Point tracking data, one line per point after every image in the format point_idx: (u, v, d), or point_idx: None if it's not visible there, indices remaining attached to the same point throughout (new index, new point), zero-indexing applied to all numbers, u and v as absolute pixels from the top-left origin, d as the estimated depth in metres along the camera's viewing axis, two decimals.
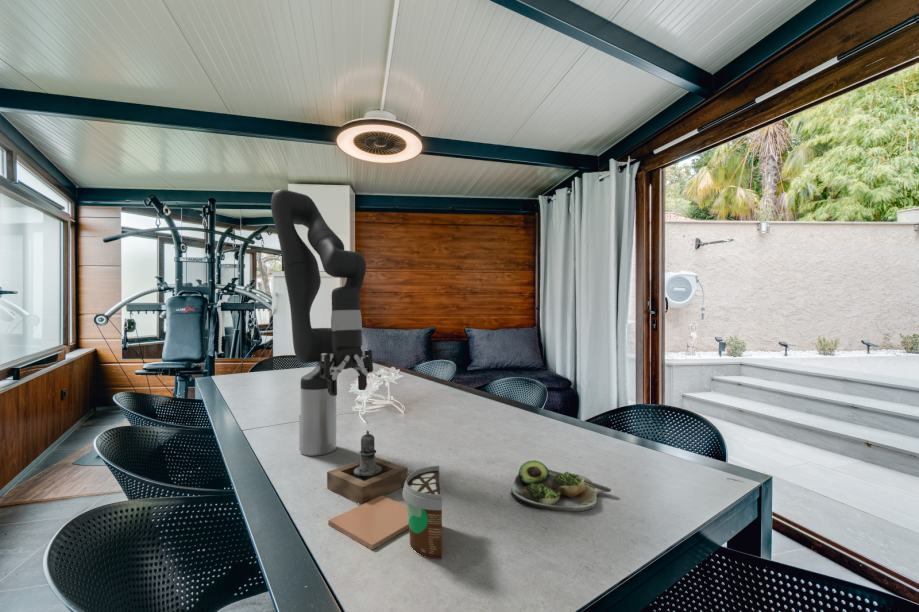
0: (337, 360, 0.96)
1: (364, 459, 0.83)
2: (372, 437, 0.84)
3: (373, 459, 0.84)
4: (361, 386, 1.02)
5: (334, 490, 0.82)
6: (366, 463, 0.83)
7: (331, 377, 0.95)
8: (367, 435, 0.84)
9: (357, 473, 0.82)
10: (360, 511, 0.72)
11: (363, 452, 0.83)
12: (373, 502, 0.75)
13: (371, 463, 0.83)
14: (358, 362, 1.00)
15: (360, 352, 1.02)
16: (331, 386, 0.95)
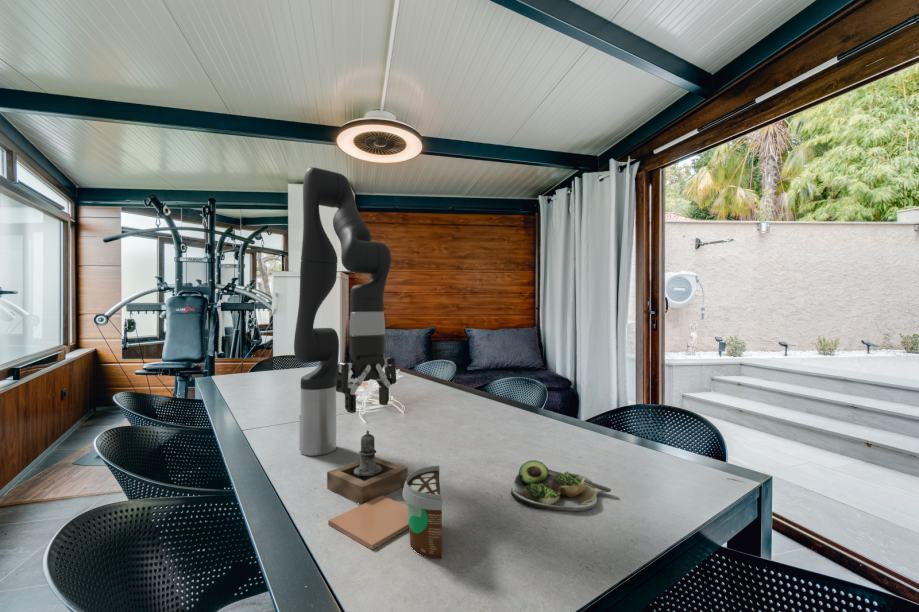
0: (356, 371, 0.82)
1: (364, 459, 0.83)
2: (372, 437, 0.84)
3: (373, 459, 0.84)
4: (383, 400, 0.87)
5: (334, 490, 0.82)
6: (366, 463, 0.83)
7: (349, 391, 0.80)
8: (367, 435, 0.84)
9: (357, 473, 0.82)
10: (360, 511, 0.72)
11: (363, 452, 0.83)
12: (373, 502, 0.75)
13: (371, 463, 0.83)
14: (380, 373, 0.85)
15: (382, 361, 0.87)
16: (349, 402, 0.80)
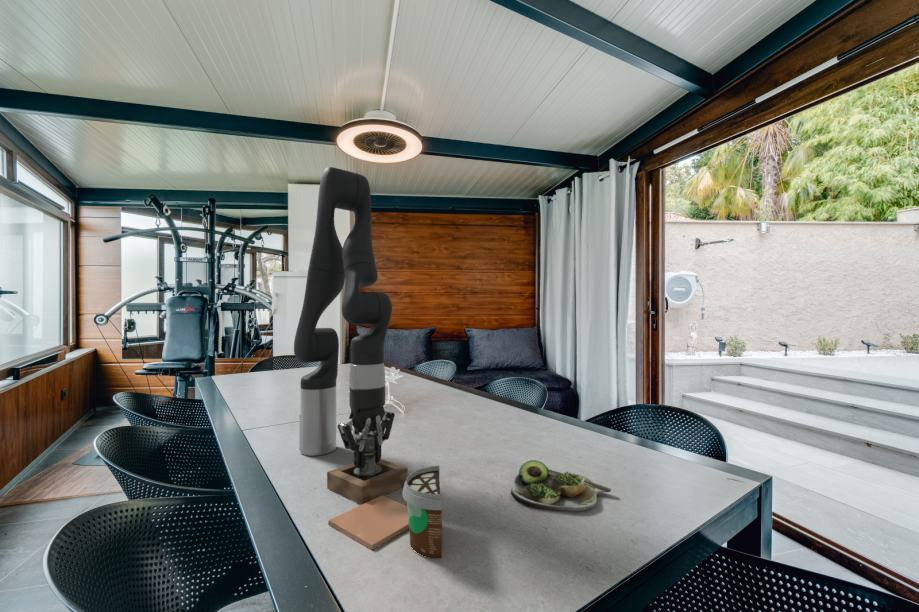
0: (358, 428, 0.82)
1: (364, 459, 0.83)
2: (372, 437, 0.84)
3: (373, 459, 0.84)
4: (375, 457, 0.86)
5: (334, 490, 0.82)
6: (366, 463, 0.83)
7: (358, 449, 0.81)
8: None
9: (357, 473, 0.82)
10: (360, 511, 0.72)
11: None
12: (373, 502, 0.75)
13: (371, 463, 0.83)
14: (378, 426, 0.85)
15: (383, 412, 0.86)
16: (358, 458, 0.82)
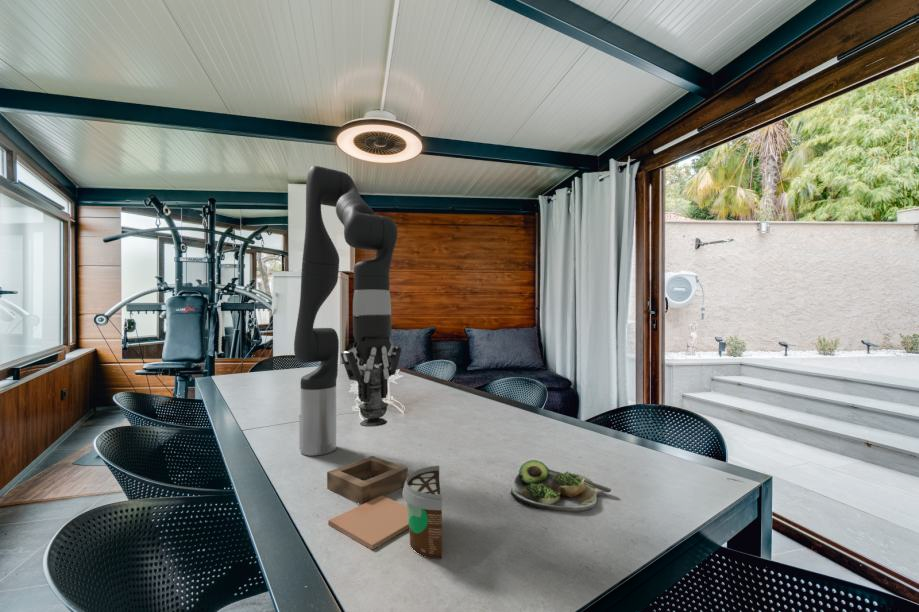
0: (363, 357, 0.76)
1: (370, 392, 0.77)
2: (378, 369, 0.78)
3: (379, 393, 0.78)
4: (381, 393, 0.80)
5: (334, 490, 0.82)
6: (372, 396, 0.77)
7: (363, 380, 0.75)
8: None
9: (362, 407, 0.76)
10: (360, 511, 0.72)
11: None
12: (373, 502, 0.75)
13: (377, 396, 0.77)
14: (383, 358, 0.79)
15: (389, 344, 0.81)
16: (363, 390, 0.76)
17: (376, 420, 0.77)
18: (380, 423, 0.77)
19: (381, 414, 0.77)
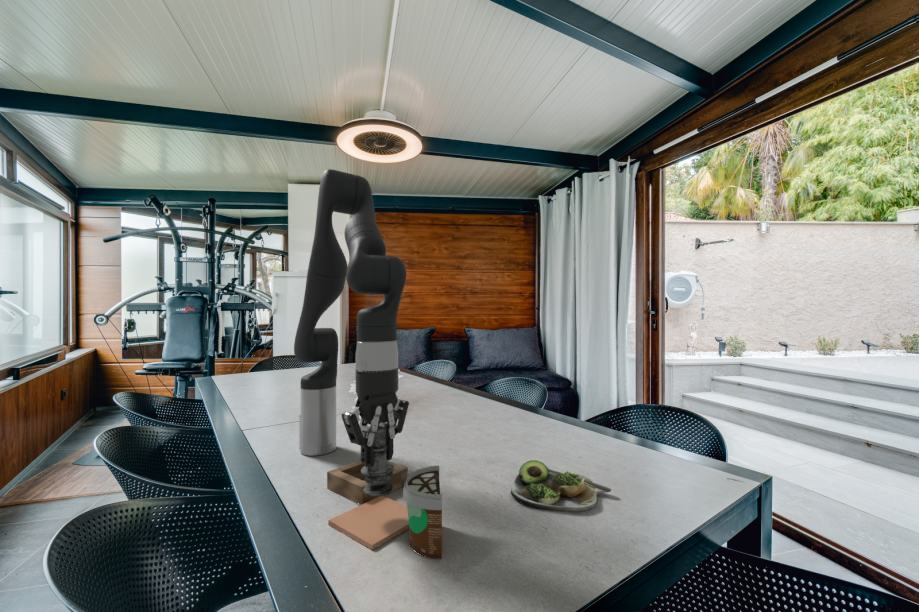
0: (366, 418, 0.67)
1: (374, 456, 0.69)
2: (383, 429, 0.70)
3: (384, 456, 0.70)
4: (386, 454, 0.71)
5: (334, 490, 0.82)
6: (376, 460, 0.69)
7: (366, 444, 0.67)
8: (377, 427, 0.70)
9: (365, 473, 0.68)
10: (360, 511, 0.72)
11: None
12: (373, 502, 0.75)
13: (382, 460, 0.69)
14: (389, 416, 0.70)
15: (395, 399, 0.72)
16: (366, 454, 0.68)
17: (381, 486, 0.69)
18: (385, 491, 0.68)
19: (386, 480, 0.69)
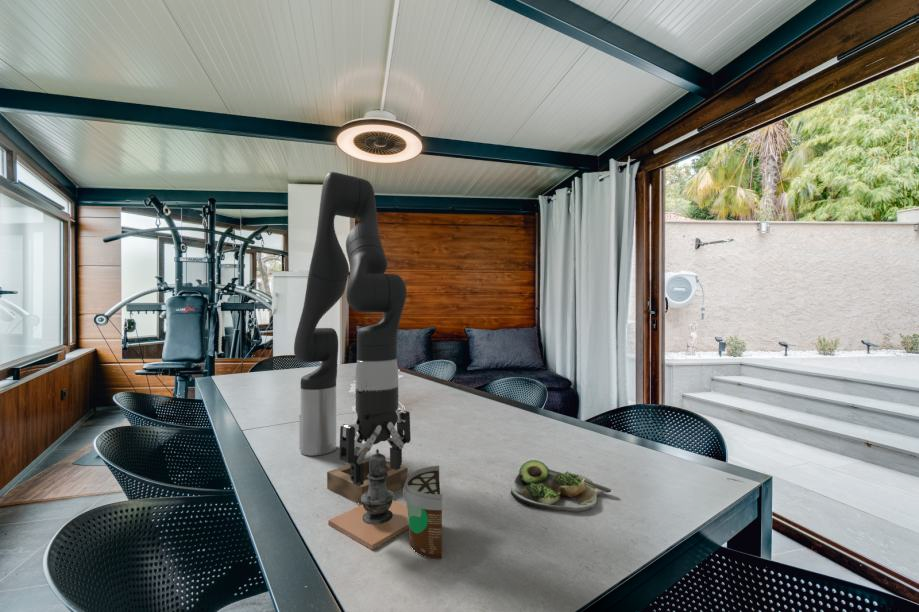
0: (364, 433, 0.67)
1: (373, 484, 0.69)
2: (383, 457, 0.70)
3: (384, 484, 0.70)
4: (394, 464, 0.73)
5: (334, 490, 0.82)
6: (376, 489, 0.69)
7: (356, 460, 0.65)
8: (377, 455, 0.70)
9: (365, 501, 0.68)
10: (360, 511, 0.72)
11: (372, 476, 0.69)
12: None
13: (382, 488, 0.69)
14: (392, 432, 0.71)
15: (395, 417, 0.72)
16: (356, 472, 0.66)
17: (380, 515, 0.69)
18: (385, 519, 0.68)
19: (386, 509, 0.69)
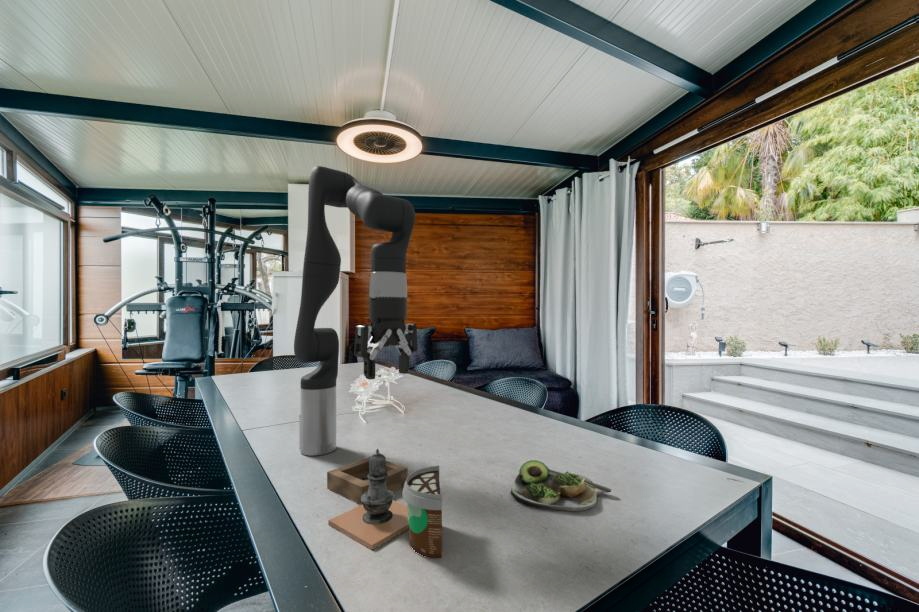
0: (376, 335, 0.76)
1: (373, 484, 0.69)
2: (383, 457, 0.70)
3: (384, 484, 0.70)
4: (403, 368, 0.82)
5: (334, 490, 0.82)
6: (376, 489, 0.69)
7: (369, 356, 0.75)
8: (377, 455, 0.70)
9: (365, 501, 0.68)
10: (360, 511, 0.72)
11: (372, 476, 0.69)
12: None
13: (382, 489, 0.69)
14: (401, 339, 0.80)
15: (403, 326, 0.81)
16: (368, 367, 0.75)
17: (380, 515, 0.69)
18: (385, 519, 0.68)
19: (386, 509, 0.69)
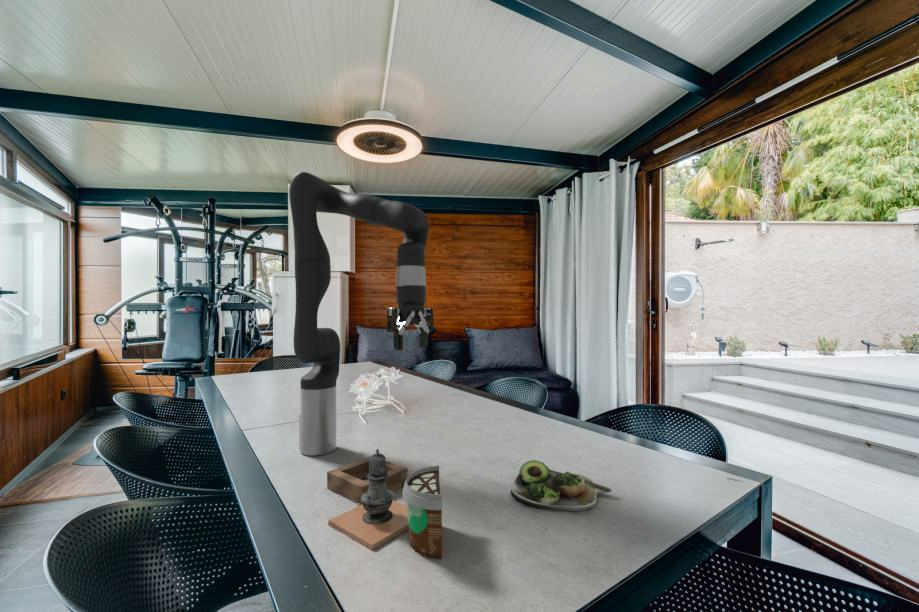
0: (403, 315, 0.96)
1: (373, 484, 0.69)
2: (383, 457, 0.70)
3: (384, 484, 0.70)
4: (423, 344, 1.02)
5: (334, 490, 0.82)
6: (376, 489, 0.69)
7: (398, 331, 0.95)
8: (377, 455, 0.70)
9: (365, 501, 0.68)
10: (360, 511, 0.72)
11: (372, 476, 0.69)
12: None
13: (382, 488, 0.69)
14: (422, 319, 1.00)
15: (423, 309, 1.01)
16: (397, 340, 0.95)
17: (380, 515, 0.69)
18: (385, 519, 0.68)
19: (386, 509, 0.69)
